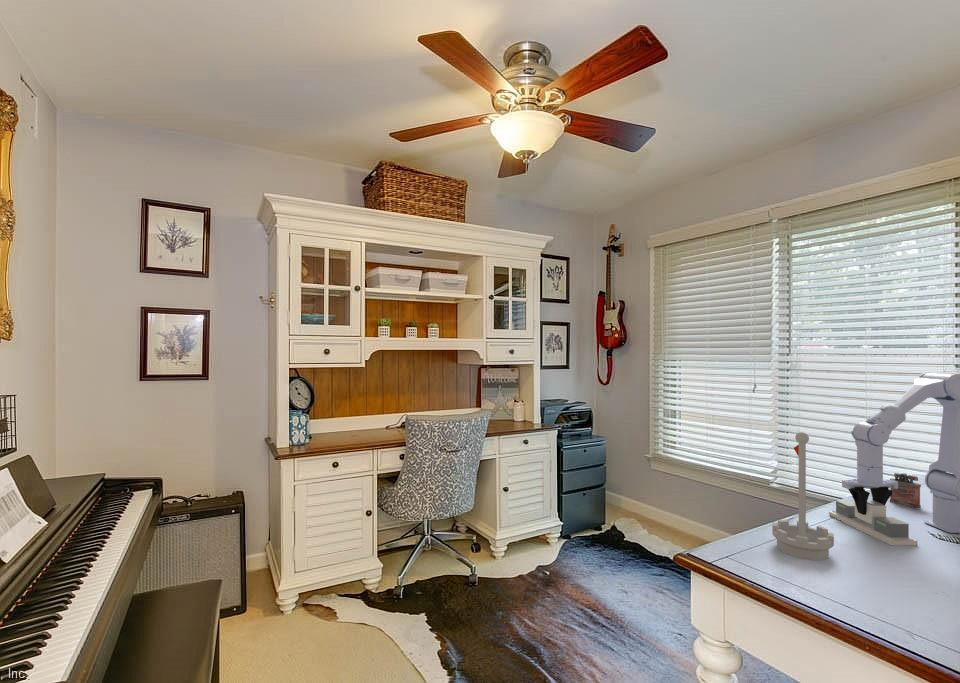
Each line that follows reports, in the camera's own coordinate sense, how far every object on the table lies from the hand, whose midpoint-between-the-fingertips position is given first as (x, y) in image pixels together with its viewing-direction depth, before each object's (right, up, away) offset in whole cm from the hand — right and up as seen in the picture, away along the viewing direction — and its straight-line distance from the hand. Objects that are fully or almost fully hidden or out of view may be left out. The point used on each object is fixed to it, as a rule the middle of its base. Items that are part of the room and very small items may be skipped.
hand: (869, 513), depth 138 cm
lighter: (+28, -5, +21) cm, 35 cm away
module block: (0, -2, 0) cm, 2 cm away
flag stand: (-28, -5, -14) cm, 32 cm away
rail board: (0, -4, 0) cm, 4 cm away
